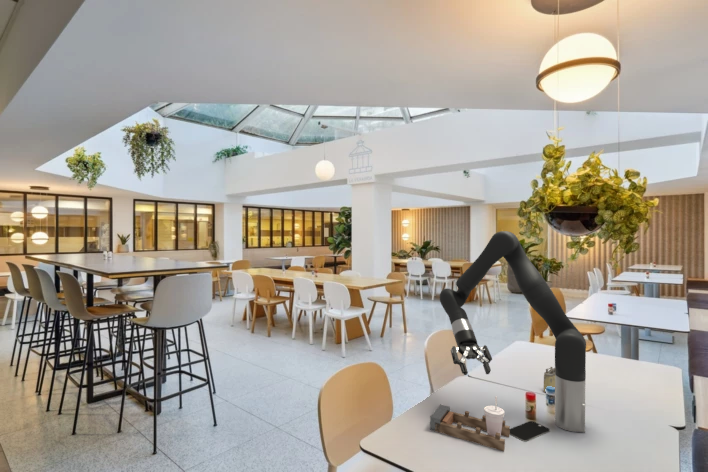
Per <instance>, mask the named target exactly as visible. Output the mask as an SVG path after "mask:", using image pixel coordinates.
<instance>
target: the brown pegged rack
mask: <svg viewBox="0 0 708 472" xmlns="http://www.w3.org/2000/svg"><path fill="white" fill-rule="evenodd" d="M454 423H455V424H456V425H453V424H454ZM437 424H438V423H437ZM435 426H436V423H435ZM463 426H465V427H466V426H467V427H468V428H474V429H475V430H472V429H468V428H465V427H463ZM437 427H438V428H437ZM510 429H511V427H510V426H509V425H507V424H506V420H504V419H503V423H502V430H501V436H503V437H505V438H509V437H510V436H511V435H510ZM438 430H439V431H438ZM481 431H484V432H487V426H486V417H485V414H484V415H482V418H479V417H475V416H471V415H470V411H468V410H465V411H464V413H463V414H462V413H459V412H457V411H456V412H455V411H452V410H450V411H449V412H448V414H447V415H446V416H445V418H444V419H443V420H442V422H441V423H440V425H437V426H436V427H435V431H434V432H437V433H439V432H440V433H441V434H444V435H447V436H450V437H454V438H457V439H460V440H464V441H467V442H471V443H474V444H478V445H481V446H484V447H487V448H491V449H494V450H498V451H501V452H505V449H506V448H505V447H506V439H505V438H501V437H500V433H497V432H496V434H495V437H494V436H491V435H487V433H483V432H481Z"/></svg>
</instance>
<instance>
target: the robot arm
mask: <svg viewBox="0 0 708 472" xmlns="http://www.w3.org/2000/svg"><path fill="white" fill-rule="evenodd" d="M518 238H519V237H517V236H516V235H515V234H514V233H513V232H511V231H506V230H504V231H503V230H502V231H501V230H500V231H497V232H495V233H494V234H493V235H492V236H491V238H490V239H489V241H488V242H487V244H486V246H485V247H484V249H483V250H482V252H481V253H480V254H479V256H478V257H477V258H476V259H475V260H474V261H473V262H472V263H471V265H469V267H468V268H467V269H466V270H465V271H464V272H463V273H462V274H461V276H459V278H458V279H457V280H456V281H455V285H456V287H457V288H458V289H457V290H454V289H451V288H448V287H447V288H444V289H442V290H441V292H440V294H439V302H440V304H441V306H442V308H443V310H444V312H445V313H446V315H447V316H448V318H449V321H450V325H451V330H452V334H453V336H454V340H455V343H456V346H455V345H453V346H452V348H451V349H450V353H451V354H450V355H451V358H452V362H453V364H454V365H459V369H460V371H461V373H462V374H463V375H464V376H467V375H468V372H469V371H468V368H467V365H466V363H465V360H466V359H467V360H475V359H476V360H477V361H478V362H480V363H481V364H482V365H483V369H484V372H485V374H486V375H490V374H491V366H490V363H491V362H492V361H493V357H492V355H491V352H490V350H489V347H488V346H487V345H486V344H484V345H483V346H479V344H478V341H477V340H478V339H477V337H476V335H475V332H474V329H473V327H472V324H471V322H470V320H469V317H468V314H467V312H466V310H465V309H464V308H463V306H464V305H465V303H466V301H467V299H468V298H469V296H470V294H471V292H472V291H473V290H474V289H475V288H476V287H477V286H478V285H479V284H480V283H481V282H482V280H483V279H484V278H485V276H486V275H487V273H488V272H489V270H490V269H491V268H492V267H493V266H494V265H495V264H496V263H497V262H498V261H499V260H501V259H502V258H504V259H505V261H506V262H507V264H508V265H509V266H510V268H511V270H512V273H513V274H514V278H515V281H516V284H517V286H518V288H519V290H520V291H521V293H522V295H523V297H524V298H525V299H526V301H527V303H528V304H529V305H530V307H531V308H532V309H533V310H534V312H536V313H537V315H539V316H540V317H541V318H542V320H544V321H545V322H546V324H547V326H548V327H549V329H550V331H551V332H552V335H553V337H554V338H555V342H554V368H555V392H554V424H555V425H556V426H557V427H558V428H560V429H562V430H565V431H567V432H568V431H569V432H574V433H586V375H587V374H586V361H587V359H586V358H587V355H586V354H587V353H586V352H587V351H586V349H587V341H586V339H585V337H584V335H583V334H582V332H580V331H579V329H578V328H577V327H576V325H574V323H573V322H572V321H571V320H570V319H569V317H568V316H567V314H566V313H565V311H564V310H563V308H562V305H561V304H560V302H559V301H558V298H557V296H556V295H555V294H554V292H553V291H552V288H551V287H550V286H549V285H548V283H547V281H546V280H545V278H544V277H543V276H542V274H541V273H540V272H539V270H538V269H537V268H536V267H535V265H534V264H533V263H532V262H531V259H529V256H528V255H527V253H526V252H525V249H524V248H523V246H522V244H521V242H520V241H519V239H518ZM458 353H459V354H460V355H461V357H460V359H459V355H458Z"/></svg>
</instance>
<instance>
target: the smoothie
mask: <svg viewBox="0 0 708 472" xmlns="http://www.w3.org/2000/svg"><path fill="white" fill-rule="evenodd" d="M494 398H495V399H494V400H495V401H494V402H495V403H494V405H487V406H485V407H484V408H483V413H484V416H485V417H486V426H487V431H486V434H487V435H491V436H494V437H495V434H496V432H497V433H500V438H501V436H502V435H501V430H502V423H503V420H504V416H505V410H504V409H503V408H501V407H499V406H498V396H494Z"/></svg>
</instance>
